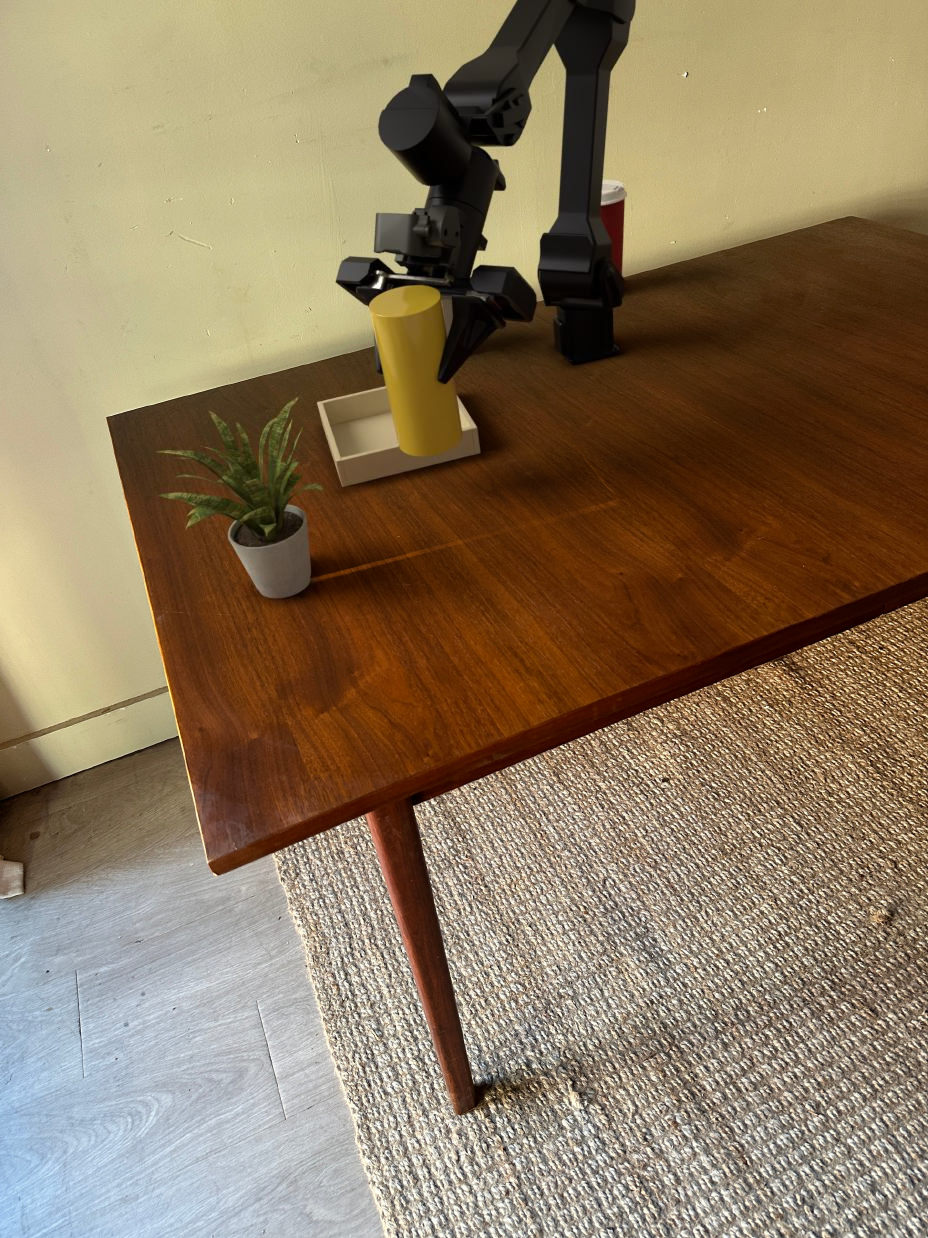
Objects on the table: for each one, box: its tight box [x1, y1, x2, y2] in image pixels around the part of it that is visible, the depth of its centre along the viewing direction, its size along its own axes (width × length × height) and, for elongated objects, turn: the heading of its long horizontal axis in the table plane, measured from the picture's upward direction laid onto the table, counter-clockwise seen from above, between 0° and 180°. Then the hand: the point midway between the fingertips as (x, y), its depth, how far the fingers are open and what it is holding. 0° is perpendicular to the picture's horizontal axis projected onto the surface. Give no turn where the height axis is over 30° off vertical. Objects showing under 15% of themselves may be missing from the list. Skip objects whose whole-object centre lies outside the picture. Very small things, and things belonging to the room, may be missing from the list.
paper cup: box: [600, 179, 628, 275], centre depth 126 cm, size 8×8×14 cm
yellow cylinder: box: [368, 285, 463, 457], centre depth 85 cm, size 6×6×14 cm
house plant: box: [154, 396, 326, 599], centre depth 81 cm, size 14×14×16 cm
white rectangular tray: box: [316, 385, 481, 488], centre depth 102 cm, size 15×15×4 cm
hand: (410, 378), depth 84 cm, fingers closed on yellow cylinder, 6 cm apart
